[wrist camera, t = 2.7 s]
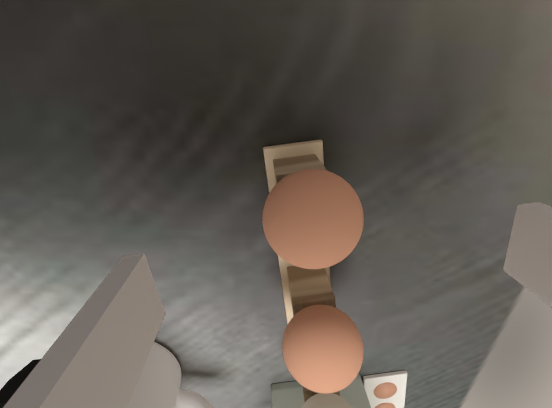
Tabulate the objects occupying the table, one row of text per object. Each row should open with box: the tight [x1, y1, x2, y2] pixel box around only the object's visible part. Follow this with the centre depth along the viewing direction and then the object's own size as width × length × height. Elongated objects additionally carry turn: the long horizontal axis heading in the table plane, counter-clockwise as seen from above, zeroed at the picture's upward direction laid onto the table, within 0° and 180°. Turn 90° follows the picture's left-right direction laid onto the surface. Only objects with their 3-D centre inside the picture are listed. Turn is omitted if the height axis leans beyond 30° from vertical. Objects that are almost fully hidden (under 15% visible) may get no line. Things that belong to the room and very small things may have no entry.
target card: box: [363, 370, 407, 408], centre depth 28 cm, size 7×4×1 cm, turn 7°
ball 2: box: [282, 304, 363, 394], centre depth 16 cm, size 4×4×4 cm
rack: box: [263, 139, 340, 402], centre depth 20 cm, size 20×4×4 cm, turn 7°
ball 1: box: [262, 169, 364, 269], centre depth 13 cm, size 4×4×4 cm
